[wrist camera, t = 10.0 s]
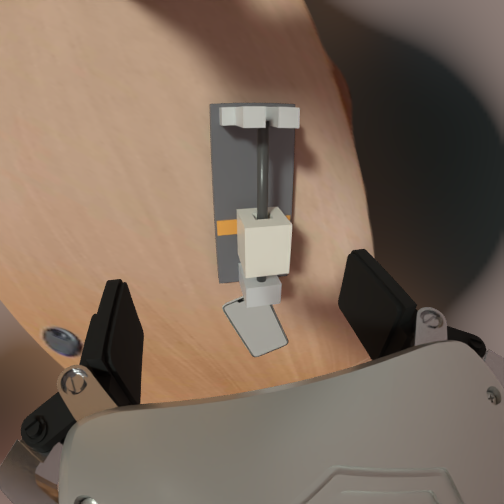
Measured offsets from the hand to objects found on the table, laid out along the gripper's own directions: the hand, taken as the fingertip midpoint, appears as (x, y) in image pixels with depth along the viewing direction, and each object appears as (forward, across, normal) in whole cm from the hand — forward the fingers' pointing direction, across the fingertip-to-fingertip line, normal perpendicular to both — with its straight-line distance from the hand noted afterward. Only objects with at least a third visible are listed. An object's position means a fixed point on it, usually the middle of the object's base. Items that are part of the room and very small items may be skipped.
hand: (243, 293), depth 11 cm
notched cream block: (+22, -6, +9) cm, 24 cm away
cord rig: (+25, -6, +6) cm, 27 cm away
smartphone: (+25, -6, +28) cm, 38 cm away
